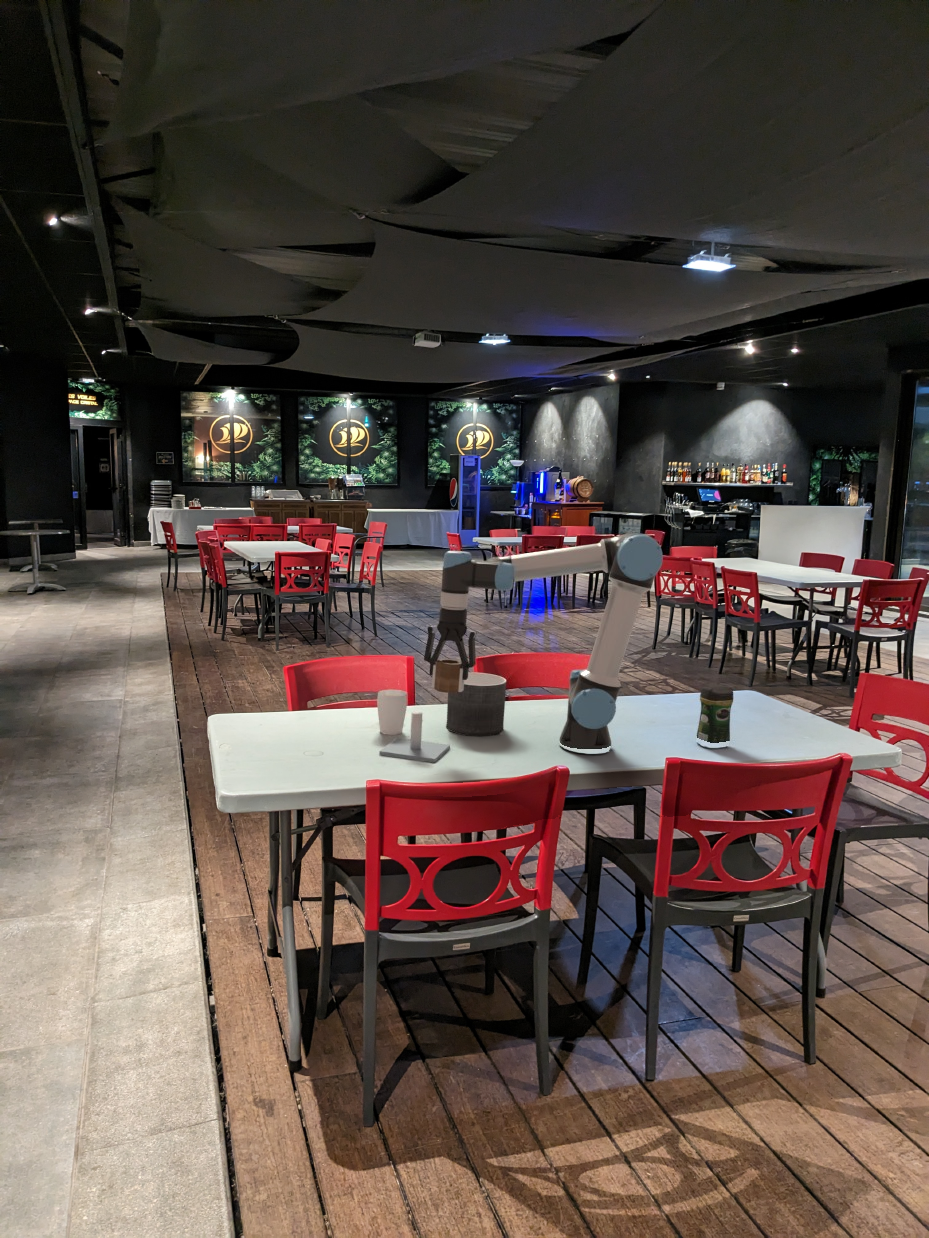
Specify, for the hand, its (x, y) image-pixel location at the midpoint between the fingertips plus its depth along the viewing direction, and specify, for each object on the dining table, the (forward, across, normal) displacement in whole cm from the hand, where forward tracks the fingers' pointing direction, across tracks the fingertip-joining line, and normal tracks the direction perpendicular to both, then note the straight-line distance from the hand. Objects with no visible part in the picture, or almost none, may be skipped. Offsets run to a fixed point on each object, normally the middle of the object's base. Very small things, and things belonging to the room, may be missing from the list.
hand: (447, 688), depth 237 cm
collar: (0, 0, 0) cm, 0 cm away
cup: (+19, +20, -11) cm, 30 cm away
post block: (+18, +7, +4) cm, 20 cm away
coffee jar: (+16, -73, -41) cm, 85 cm away
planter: (+18, -2, -26) cm, 32 cm away
